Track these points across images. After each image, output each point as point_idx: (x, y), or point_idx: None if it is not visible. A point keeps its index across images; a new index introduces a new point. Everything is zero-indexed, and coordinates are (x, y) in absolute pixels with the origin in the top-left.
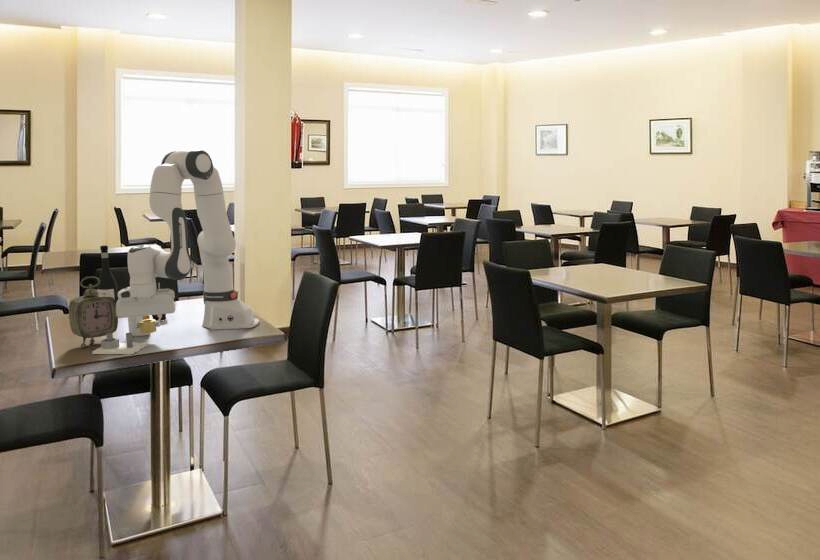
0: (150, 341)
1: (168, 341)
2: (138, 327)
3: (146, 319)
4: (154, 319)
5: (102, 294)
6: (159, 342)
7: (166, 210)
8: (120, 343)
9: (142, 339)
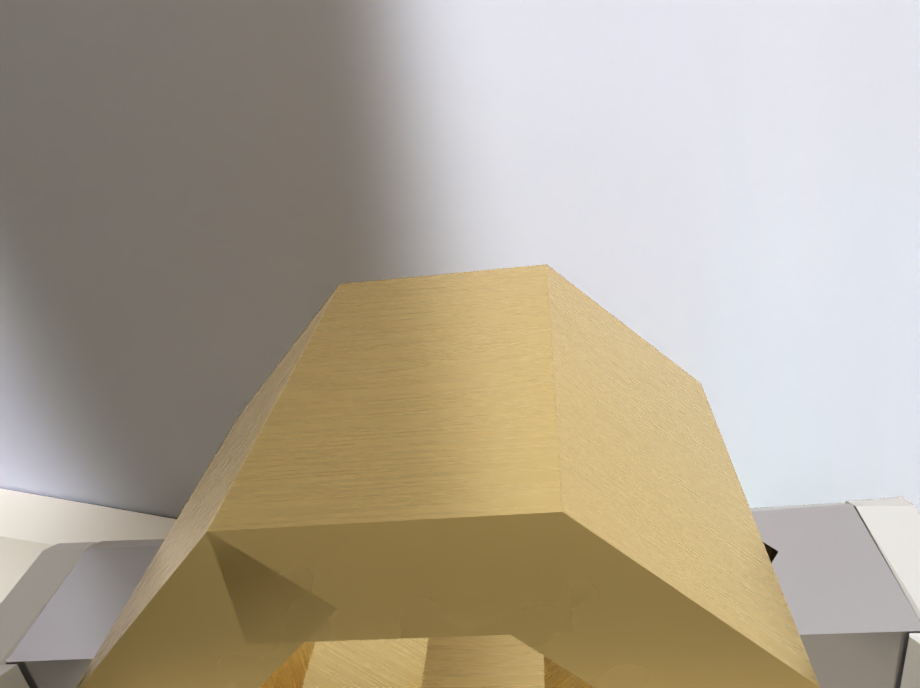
0: (488, 248)
1: (891, 318)
2: None
3: (305, 536)
4: (775, 669)
5: None
6: (698, 367)
7: None
8: (2, 585)
9: (235, 3)
